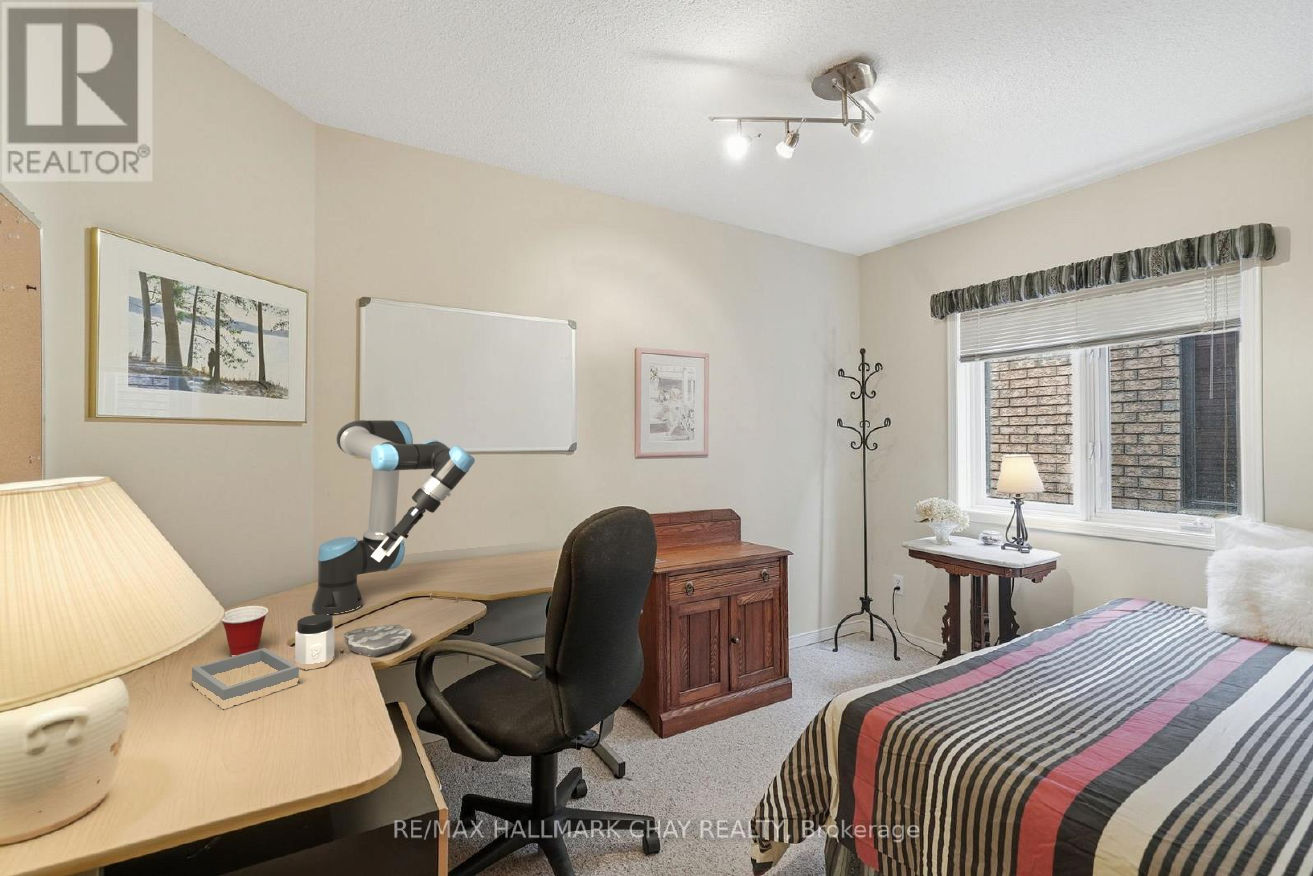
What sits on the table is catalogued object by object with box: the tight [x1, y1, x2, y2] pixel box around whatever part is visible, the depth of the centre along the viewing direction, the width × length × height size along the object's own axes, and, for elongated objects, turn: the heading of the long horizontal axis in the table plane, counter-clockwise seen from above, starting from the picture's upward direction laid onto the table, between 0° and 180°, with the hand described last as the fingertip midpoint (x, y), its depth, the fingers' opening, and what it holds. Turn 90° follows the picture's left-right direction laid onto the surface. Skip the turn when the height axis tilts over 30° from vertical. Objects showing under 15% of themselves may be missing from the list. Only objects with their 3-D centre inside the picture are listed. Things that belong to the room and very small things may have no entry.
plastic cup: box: [220, 605, 269, 656], centre depth 159 cm, size 11×11×12 cm
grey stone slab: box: [343, 624, 413, 657], centre depth 169 cm, size 20×17×3 cm
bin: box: [191, 647, 300, 700], centre depth 142 cm, size 19×16×4 cm
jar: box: [294, 614, 336, 664], centre depth 155 cm, size 9×8×12 cm
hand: (380, 556), depth 162 cm, fingers open, 13 cm apart
